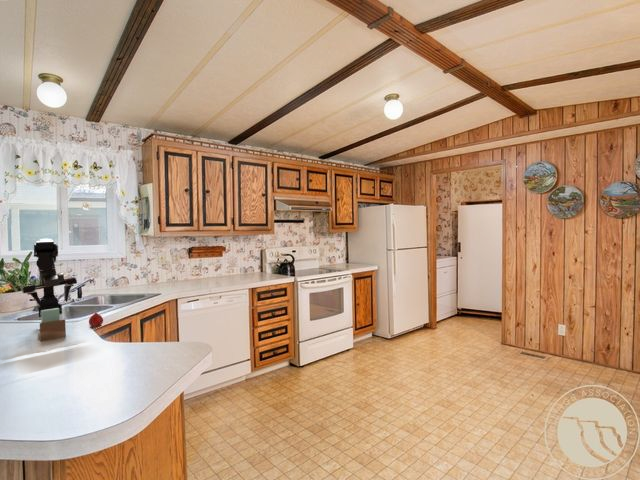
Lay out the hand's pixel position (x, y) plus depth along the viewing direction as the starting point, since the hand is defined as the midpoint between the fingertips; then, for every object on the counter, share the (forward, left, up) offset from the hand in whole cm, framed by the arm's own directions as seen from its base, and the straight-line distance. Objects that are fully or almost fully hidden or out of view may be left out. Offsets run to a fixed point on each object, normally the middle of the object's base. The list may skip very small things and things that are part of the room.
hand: (53, 304), depth 151 cm
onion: (-5, +17, -16) cm, 23 cm away
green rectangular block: (0, -1, -14) cm, 14 cm away
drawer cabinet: (-2, -1, -15) cm, 16 cm away
